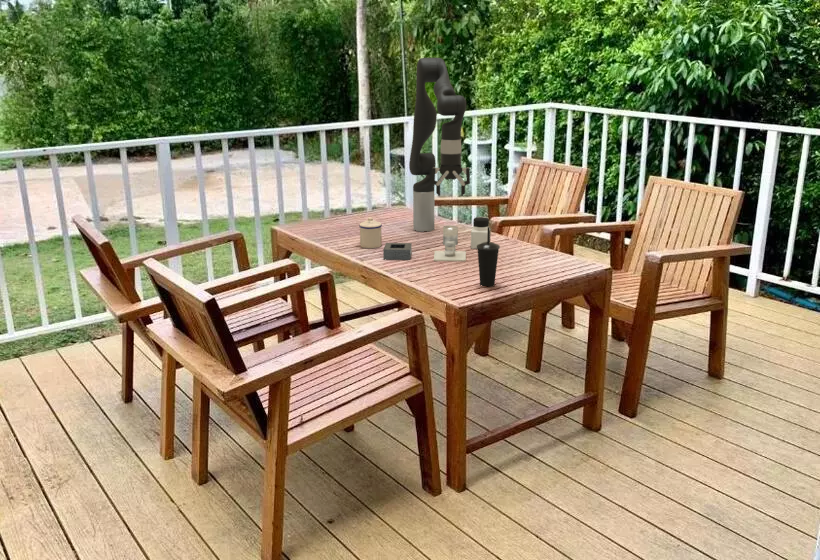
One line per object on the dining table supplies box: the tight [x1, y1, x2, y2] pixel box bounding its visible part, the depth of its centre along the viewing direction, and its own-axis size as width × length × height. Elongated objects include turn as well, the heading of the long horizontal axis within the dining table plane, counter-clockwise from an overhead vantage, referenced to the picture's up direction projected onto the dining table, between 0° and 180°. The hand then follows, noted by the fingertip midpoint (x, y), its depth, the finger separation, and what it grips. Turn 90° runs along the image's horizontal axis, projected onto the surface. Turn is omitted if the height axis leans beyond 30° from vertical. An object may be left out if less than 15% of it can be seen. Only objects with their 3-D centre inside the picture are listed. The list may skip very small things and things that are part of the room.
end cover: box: [442, 224, 459, 257], centre depth 280 cm, size 6×6×11 cm
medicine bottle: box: [470, 216, 492, 250], centre depth 294 cm, size 7×7×12 cm
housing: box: [382, 242, 413, 261], centre depth 283 cm, size 10×10×4 cm
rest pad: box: [433, 250, 467, 262], centre depth 282 cm, size 12×12×1 cm
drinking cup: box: [476, 226, 501, 287], centre depth 246 cm, size 8×8×20 cm
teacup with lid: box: [358, 216, 383, 249], centre depth 298 cm, size 12×9×12 cm
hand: (450, 195), depth 275 cm, fingers open, 8 cm apart
